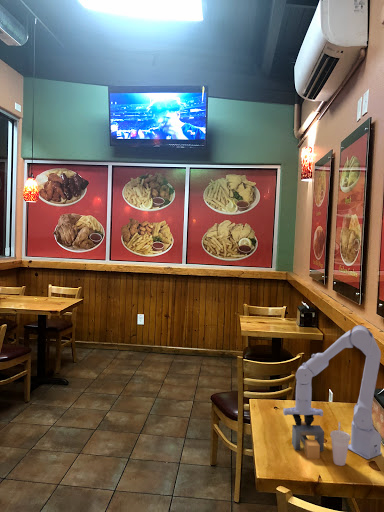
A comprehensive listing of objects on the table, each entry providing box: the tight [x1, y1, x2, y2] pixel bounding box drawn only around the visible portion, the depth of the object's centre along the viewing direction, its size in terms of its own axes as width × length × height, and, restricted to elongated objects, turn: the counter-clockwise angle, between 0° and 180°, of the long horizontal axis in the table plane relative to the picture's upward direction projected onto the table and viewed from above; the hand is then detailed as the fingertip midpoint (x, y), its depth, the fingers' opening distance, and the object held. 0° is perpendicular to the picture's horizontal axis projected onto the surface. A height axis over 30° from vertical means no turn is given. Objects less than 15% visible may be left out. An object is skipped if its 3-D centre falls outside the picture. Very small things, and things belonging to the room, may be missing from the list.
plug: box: [301, 420, 321, 460], centre depth 147 cm, size 16×4×6 cm, turn 0°
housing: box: [291, 424, 325, 452], centre depth 147 cm, size 5×10×7 cm, turn 90°
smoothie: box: [329, 421, 351, 466], centre depth 137 cm, size 6×6×14 cm
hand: (302, 433), depth 154 cm, fingers closed on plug, 2 cm apart
